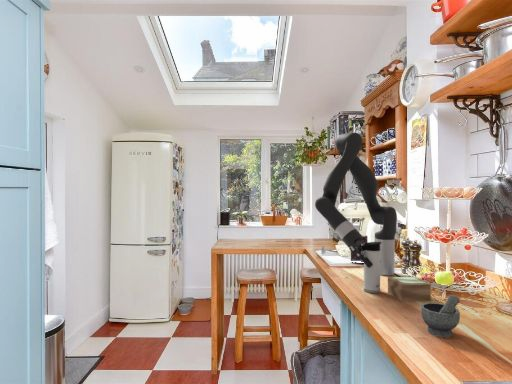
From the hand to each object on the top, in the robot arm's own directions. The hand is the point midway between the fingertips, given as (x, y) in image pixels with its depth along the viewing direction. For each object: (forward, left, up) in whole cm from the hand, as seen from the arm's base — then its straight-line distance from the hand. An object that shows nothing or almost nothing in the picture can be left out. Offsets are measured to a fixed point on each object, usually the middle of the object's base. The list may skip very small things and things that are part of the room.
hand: (375, 264), depth 133 cm
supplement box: (-55, +15, -11) cm, 58 cm away
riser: (+7, +10, -11) cm, 16 cm away
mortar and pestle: (+40, +1, -11) cm, 42 cm away
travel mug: (-1, -1, -11) cm, 11 cm away
